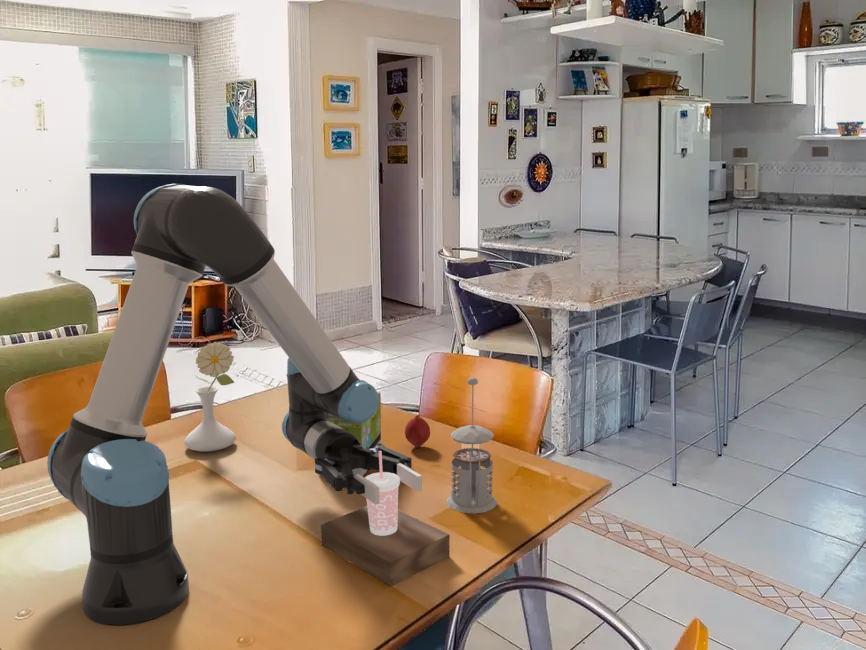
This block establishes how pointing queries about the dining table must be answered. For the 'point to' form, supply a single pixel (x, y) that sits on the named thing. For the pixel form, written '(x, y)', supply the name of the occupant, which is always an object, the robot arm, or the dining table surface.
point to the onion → (417, 431)
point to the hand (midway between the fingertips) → (398, 489)
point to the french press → (472, 470)
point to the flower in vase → (211, 400)
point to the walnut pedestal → (385, 545)
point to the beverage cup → (384, 502)
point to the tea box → (363, 431)
